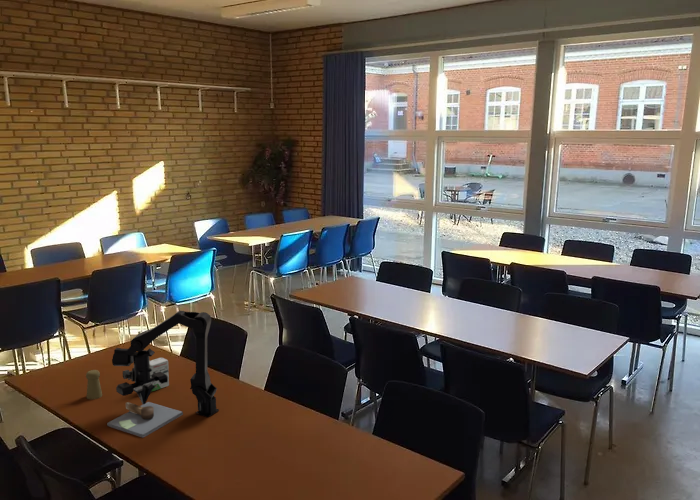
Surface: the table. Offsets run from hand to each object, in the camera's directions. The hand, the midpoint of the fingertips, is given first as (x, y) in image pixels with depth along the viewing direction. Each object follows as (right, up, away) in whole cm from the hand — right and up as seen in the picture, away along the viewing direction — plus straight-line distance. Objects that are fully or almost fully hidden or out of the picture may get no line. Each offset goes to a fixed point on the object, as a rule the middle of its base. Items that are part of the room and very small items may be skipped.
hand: (143, 403), depth 222 cm
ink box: (-2, +1, +22) cm, 22 cm away
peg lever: (0, -2, -5) cm, 6 cm away
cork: (-25, 0, +13) cm, 28 cm away
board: (+3, -4, -7) cm, 9 cm away
